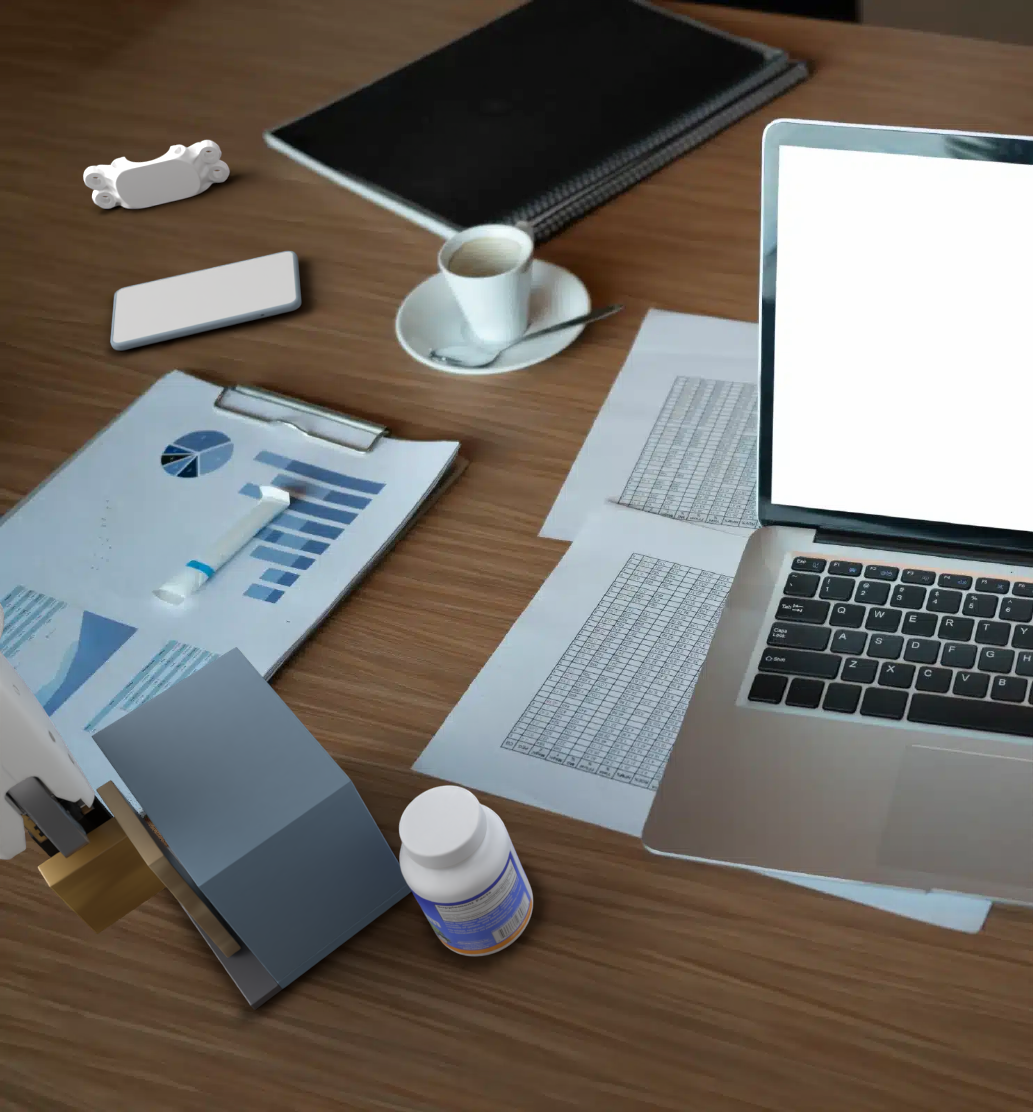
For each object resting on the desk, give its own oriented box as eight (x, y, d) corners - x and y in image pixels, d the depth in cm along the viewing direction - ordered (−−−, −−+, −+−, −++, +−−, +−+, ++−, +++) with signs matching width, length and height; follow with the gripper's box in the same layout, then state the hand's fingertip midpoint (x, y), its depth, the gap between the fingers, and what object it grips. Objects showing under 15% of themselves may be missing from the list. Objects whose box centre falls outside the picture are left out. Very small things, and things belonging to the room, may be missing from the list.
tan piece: (155, 1011, 67) (64, 922, 60) (106, 934, 70) (14, 840, 63) (241, 948, 69) (163, 854, 62) (190, 876, 72) (110, 779, 65)
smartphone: (113, 288, 110) (295, 247, 112) (118, 297, 111) (299, 257, 113) (108, 347, 104) (299, 302, 107) (114, 356, 105) (303, 312, 108)
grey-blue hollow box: (254, 1010, 68) (165, 910, 59) (153, 864, 74) (59, 755, 66) (414, 889, 72) (351, 780, 64) (306, 761, 78) (236, 646, 70)
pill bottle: (430, 884, 72) (376, 789, 65) (527, 855, 73) (485, 758, 66) (441, 974, 69) (386, 883, 61) (543, 941, 69) (501, 849, 62)
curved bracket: (98, 219, 119) (78, 180, 116) (97, 205, 120) (78, 167, 118) (234, 186, 122) (218, 148, 119) (232, 173, 123) (215, 135, 120)
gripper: (-255, 584, 57) (-32, 806, 71) (-143, 789, 50) (83, 993, 63) (-79, 495, 61) (102, 724, 74) (51, 674, 53) (225, 891, 67)
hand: (93, 847), depth 69 cm, fingers closed
